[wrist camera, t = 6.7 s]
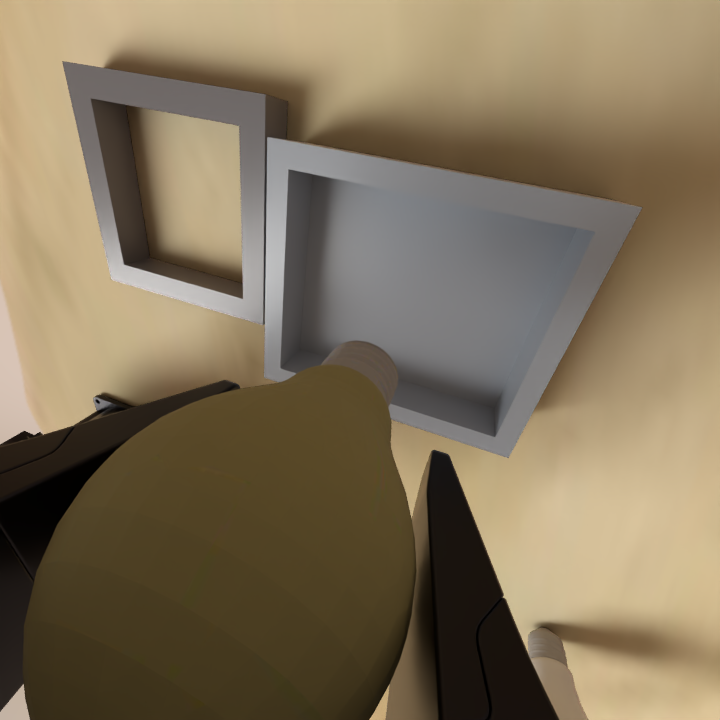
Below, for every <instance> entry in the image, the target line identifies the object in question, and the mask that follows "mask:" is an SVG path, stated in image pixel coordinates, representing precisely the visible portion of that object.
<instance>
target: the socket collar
mask: <svg viewBox="0 0 720 720" xmlns="http://www.w3.org/2000/svg"><path fill="white" fill-rule="evenodd" d="M62 62H63V67H64V71H65V75H66V80H67V84H68V89H69V93H70V98H71V102H72V107H73V111H74V116H75V120H76V124H77V129H78V133H79V138H80V142H81V147H82V151H83V156H84V160H85V164H86V169H87V173H88V178H89V182H90V187H91V191H92V196H93V200H94V205H95V209H96V213H97V218H98V222H99V227H100V231H101V236H102V240H103V245H104V249H105V253H106V258H107V262H108V267H109V271H110V276H111V280H114V281H117V282H120V283H124V284H127V285H130V286H134V287H137V288H140V289H144V290H147V291H150V292H154V293H157V294H161V295H164V296H167V297H171V298H174V299H177V300H181V301H184V302H187V303H191V304H194V305H197V306H201V307H204V308H207V309H211V310H214V311H217V312H221V313H224V314H227V315H231V316H234V317H237V318H241V319H244V320H247V321H251V322H254V323H258V324H261V325H264V324H265V279H266V203H267V137H271V138H278V139H286V133H287V106H288V101H284V100H281V99H278V98H275V97H272V96H269V95H266V94H261V93H255V92H248V91H242V90H236V89H230V88H224V87H218V86H212V85H205V84H199V83H193V82H187V81H181V80H175V79H169V78H162V77H156V76H150V75H144V74H138V73H132V72H126V71H119V70H113V69H107V68H101V67H95V66H89V65H83V64H76V63H70V62H64V61H62ZM125 105H130V106H135V107H141V108H146V109H152V110H157V111H162V112H168V113H173V114H179V115H184V116H190V117H195V118H200V119H206V120H211V121H217V122H222V123H228V124H233V125H239V133H240V179H241V224H242V270H243V284H242V283H239V282H235V281H232V280H228V279H224V278H221V277H217V276H214V275H210V274H206V273H203V272H199V271H196V270H192V269H188V268H185V267H181V266H178V265H174V264H170V263H167V262H163V261H160V260H156V259H152V258H150V256H149V250H148V243H147V237H146V231H145V225H144V218H143V212H142V206H141V200H140V193H139V187H138V181H137V175H136V168H135V162H134V156H133V150H132V143H131V137H130V131H129V125H128V118H127V112H126V106H125Z"/></svg>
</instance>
